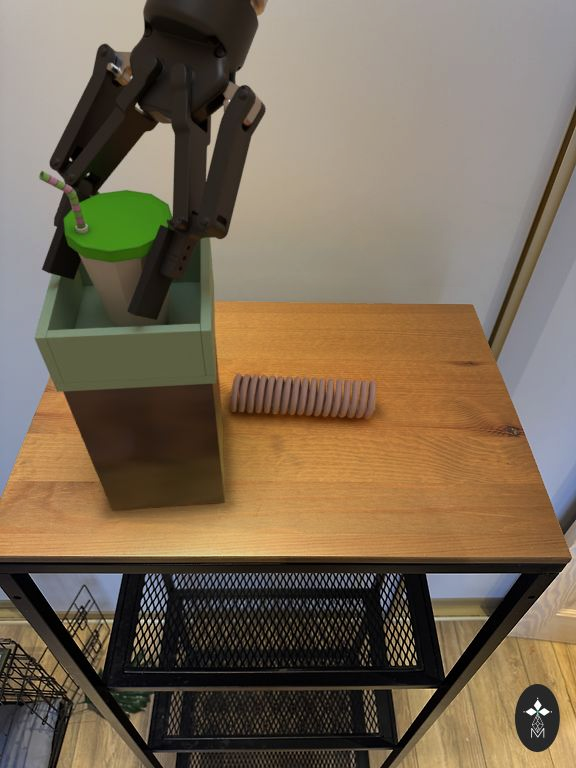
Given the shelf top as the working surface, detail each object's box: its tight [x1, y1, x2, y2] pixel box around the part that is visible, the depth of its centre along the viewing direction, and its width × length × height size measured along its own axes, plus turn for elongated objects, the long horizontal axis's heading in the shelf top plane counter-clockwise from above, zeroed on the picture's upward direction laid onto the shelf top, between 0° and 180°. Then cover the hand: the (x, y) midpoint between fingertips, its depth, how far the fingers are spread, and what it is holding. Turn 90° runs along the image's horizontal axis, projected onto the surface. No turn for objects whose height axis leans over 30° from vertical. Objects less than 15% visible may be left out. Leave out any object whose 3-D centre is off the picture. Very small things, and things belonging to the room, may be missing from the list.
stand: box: [62, 338, 226, 511], centre depth 58 cm, size 12×12×20 cm
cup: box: [38, 170, 174, 327], centre depth 44 cm, size 8×8×15 cm
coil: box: [229, 373, 377, 420], centre depth 69 cm, size 5×5×18 cm
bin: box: [34, 238, 217, 393], centre depth 48 cm, size 13×13×6 cm
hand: (99, 294), depth 43 cm, fingers closed on cup, 8 cm apart
